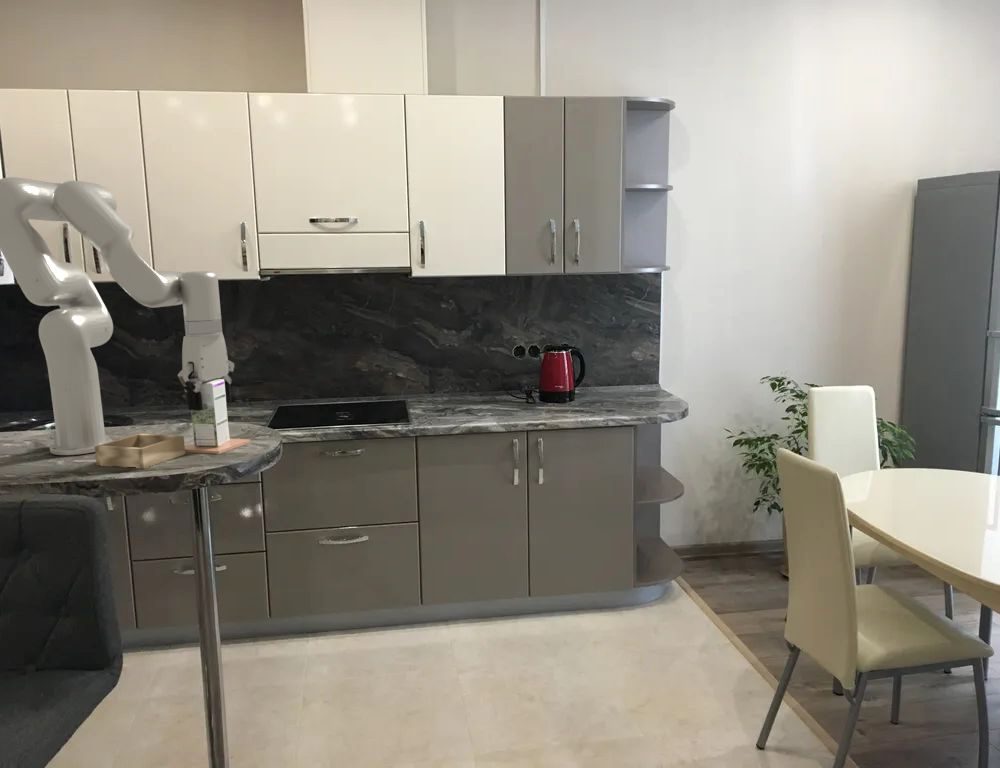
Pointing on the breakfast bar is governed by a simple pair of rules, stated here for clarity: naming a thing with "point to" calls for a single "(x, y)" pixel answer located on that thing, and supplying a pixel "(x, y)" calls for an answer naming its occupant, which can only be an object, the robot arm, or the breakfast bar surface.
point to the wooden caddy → (140, 450)
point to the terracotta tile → (217, 450)
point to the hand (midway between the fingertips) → (210, 405)
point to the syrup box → (211, 416)
